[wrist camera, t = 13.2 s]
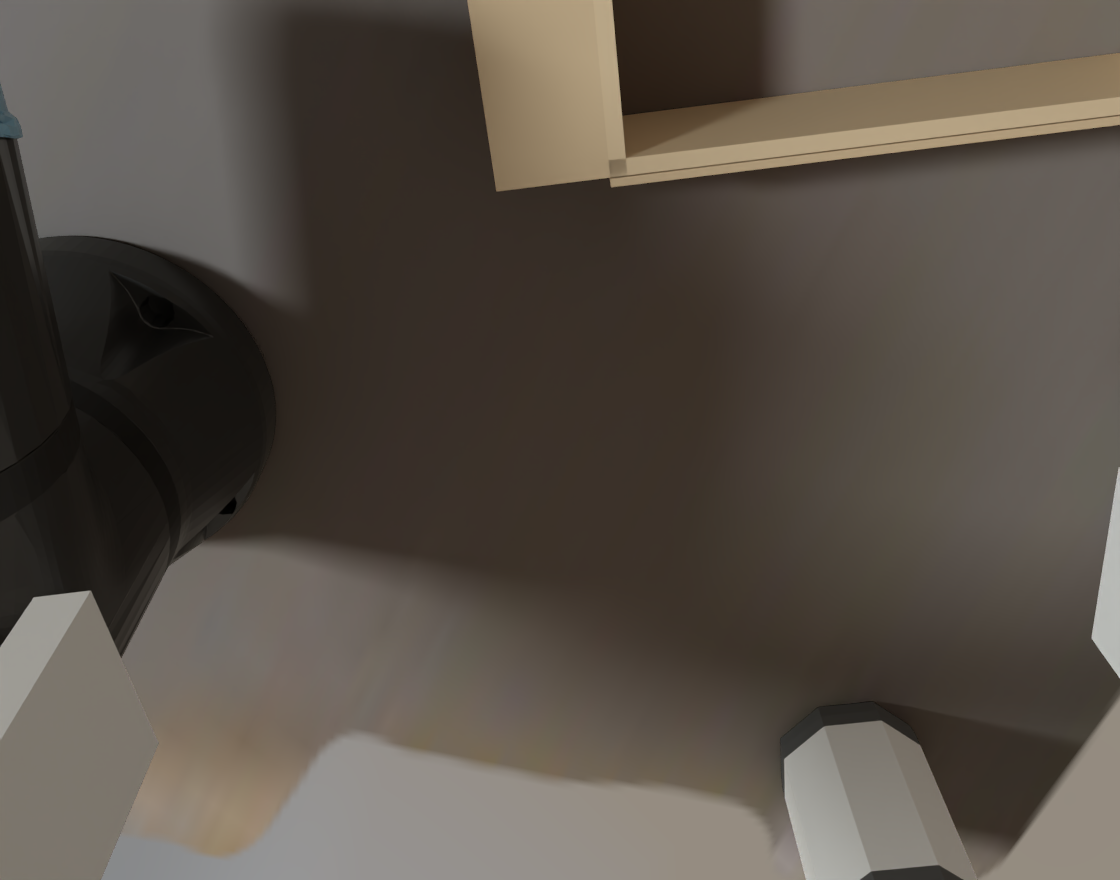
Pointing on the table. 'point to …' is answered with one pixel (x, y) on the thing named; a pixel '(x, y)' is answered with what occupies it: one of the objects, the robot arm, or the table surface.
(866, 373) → the table surface
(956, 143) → the tan shallow open box
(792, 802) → the wine bottle
